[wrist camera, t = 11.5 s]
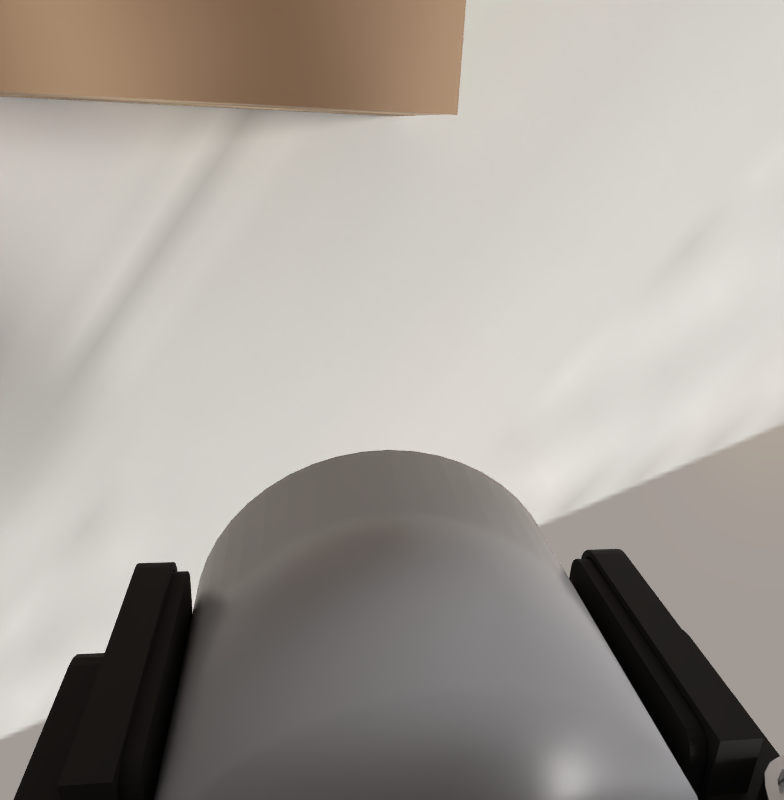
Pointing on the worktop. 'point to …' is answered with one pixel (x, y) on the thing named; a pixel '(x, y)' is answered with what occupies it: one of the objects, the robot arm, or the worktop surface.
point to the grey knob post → (401, 652)
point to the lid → (239, 51)
